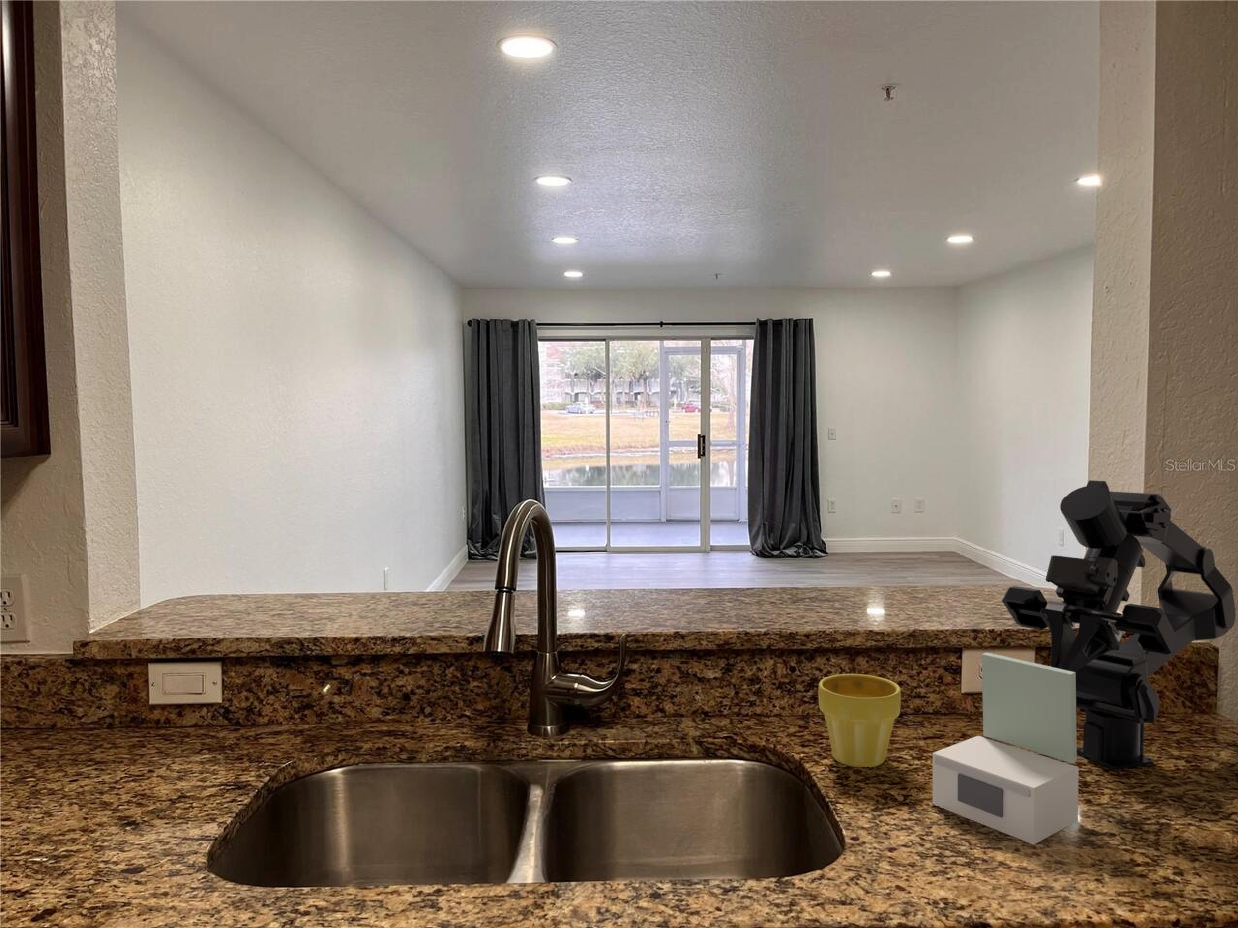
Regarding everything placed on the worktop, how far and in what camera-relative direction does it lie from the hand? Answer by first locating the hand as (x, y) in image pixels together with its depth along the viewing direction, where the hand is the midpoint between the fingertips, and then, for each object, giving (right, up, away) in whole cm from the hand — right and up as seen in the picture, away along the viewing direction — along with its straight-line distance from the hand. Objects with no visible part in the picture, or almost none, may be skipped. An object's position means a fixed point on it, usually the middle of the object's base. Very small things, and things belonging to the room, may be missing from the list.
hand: (1058, 674), depth 103 cm
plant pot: (-21, -14, +10) cm, 27 cm away
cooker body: (-9, -14, -6) cm, 18 cm away
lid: (-6, -3, -4) cm, 8 cm away
